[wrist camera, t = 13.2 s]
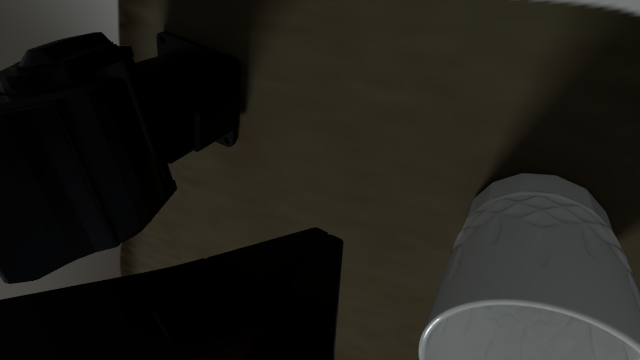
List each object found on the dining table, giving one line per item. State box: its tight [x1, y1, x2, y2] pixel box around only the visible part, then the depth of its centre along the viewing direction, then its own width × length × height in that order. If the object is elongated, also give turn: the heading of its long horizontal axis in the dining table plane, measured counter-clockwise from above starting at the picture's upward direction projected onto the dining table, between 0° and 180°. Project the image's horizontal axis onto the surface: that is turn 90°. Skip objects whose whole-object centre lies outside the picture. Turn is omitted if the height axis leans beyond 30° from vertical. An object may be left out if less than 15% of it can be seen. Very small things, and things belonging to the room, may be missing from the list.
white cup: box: [419, 173, 640, 360], centre depth 17 cm, size 8×8×10 cm
